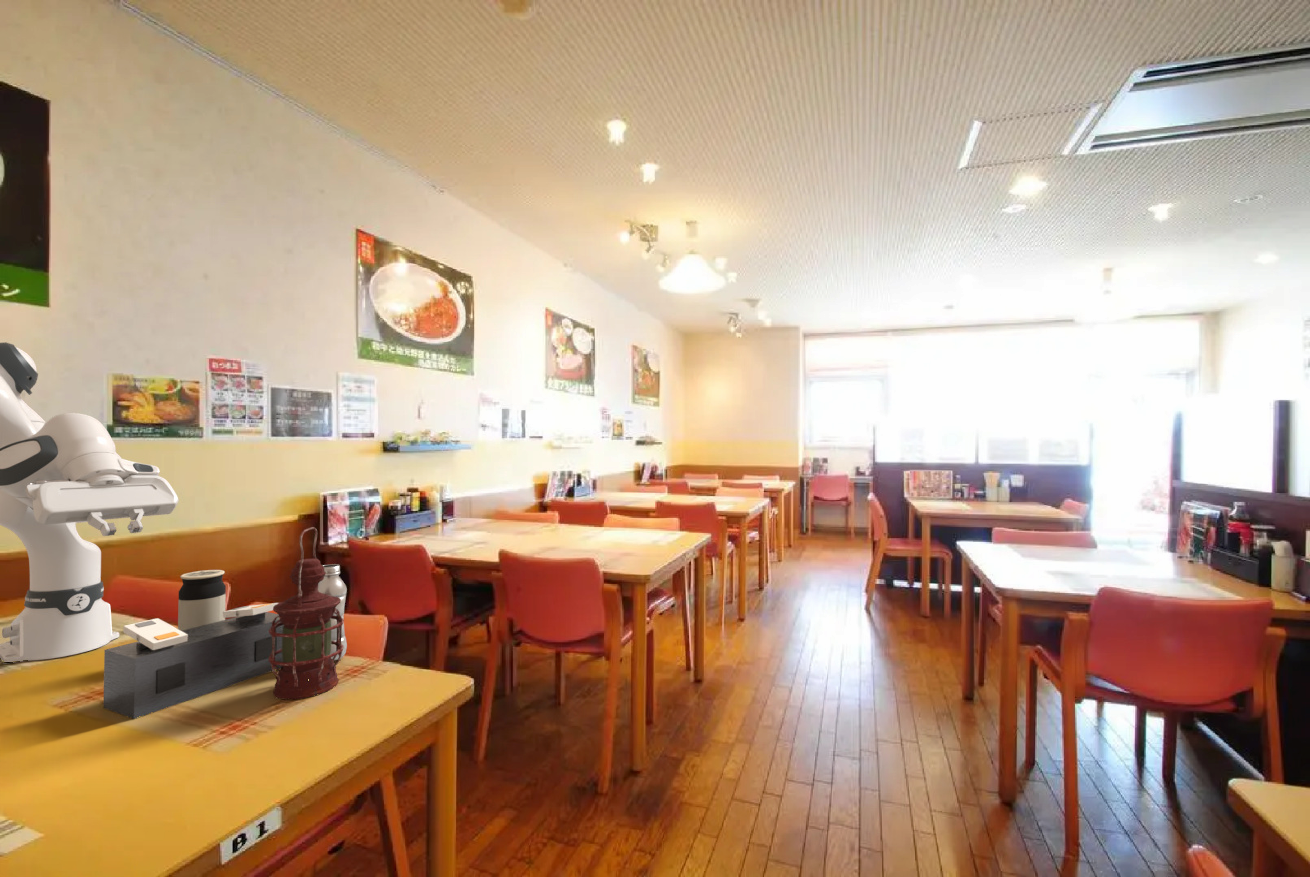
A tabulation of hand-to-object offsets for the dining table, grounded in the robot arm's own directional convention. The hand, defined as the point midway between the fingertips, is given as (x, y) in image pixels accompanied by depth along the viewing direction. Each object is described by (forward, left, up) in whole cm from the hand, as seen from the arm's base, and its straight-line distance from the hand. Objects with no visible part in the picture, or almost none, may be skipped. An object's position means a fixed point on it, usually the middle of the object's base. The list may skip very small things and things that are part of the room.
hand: (123, 532), depth 106 cm
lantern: (+30, +15, -30) cm, 45 cm away
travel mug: (-6, +16, -30) cm, 34 cm away
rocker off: (+11, +16, -17) cm, 26 cm away
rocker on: (+11, 0, -17) cm, 21 cm away
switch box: (+11, +8, -29) cm, 32 cm away
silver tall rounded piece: (+21, +26, -30) cm, 45 cm away
